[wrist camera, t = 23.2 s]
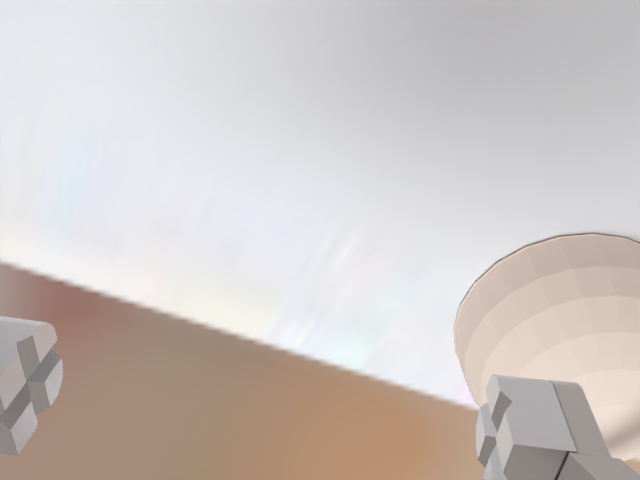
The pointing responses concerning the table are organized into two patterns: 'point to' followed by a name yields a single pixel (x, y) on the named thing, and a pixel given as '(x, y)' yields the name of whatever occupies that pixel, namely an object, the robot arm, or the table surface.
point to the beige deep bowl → (562, 327)
